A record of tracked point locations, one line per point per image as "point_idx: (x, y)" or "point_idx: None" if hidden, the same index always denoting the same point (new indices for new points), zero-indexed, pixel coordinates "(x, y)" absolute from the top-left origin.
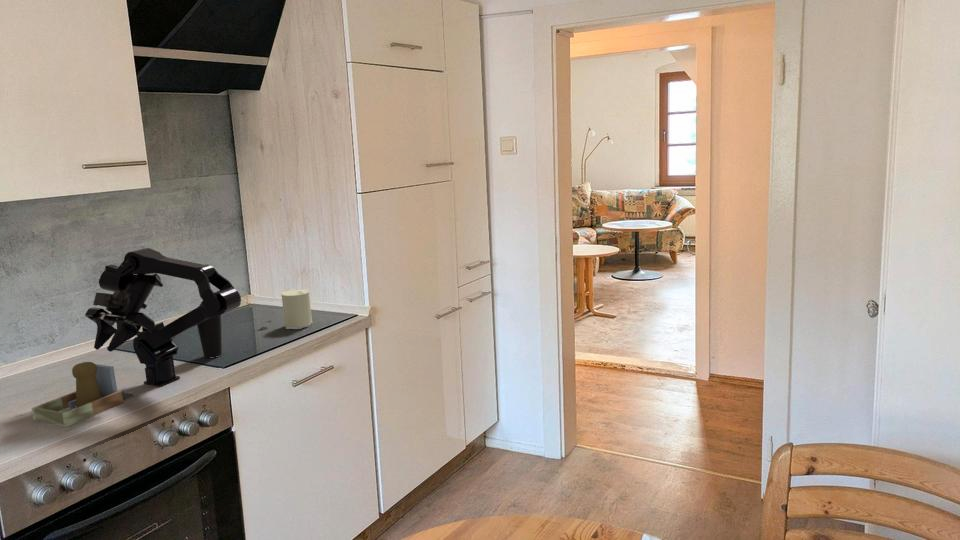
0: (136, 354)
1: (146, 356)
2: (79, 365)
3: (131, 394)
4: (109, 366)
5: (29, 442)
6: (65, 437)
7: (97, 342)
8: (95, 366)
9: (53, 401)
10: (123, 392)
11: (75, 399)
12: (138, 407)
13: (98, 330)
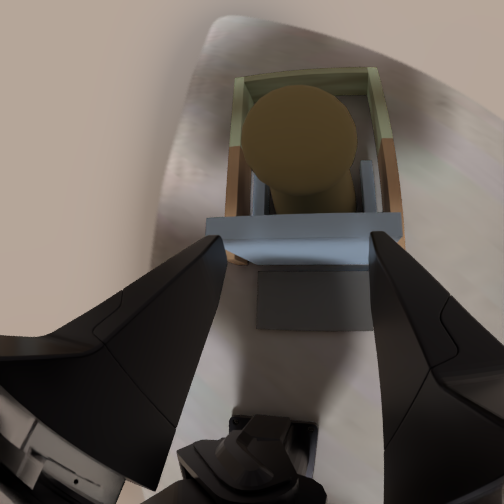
0: (289, 459)
1: (220, 449)
2: (287, 96)
3: (260, 322)
4: (229, 234)
5: (250, 40)
6: (197, 77)
7: (375, 256)
8: (251, 164)
9: (377, 115)
10: (307, 329)
11: (373, 184)
12: (164, 253)
13: (462, 333)
